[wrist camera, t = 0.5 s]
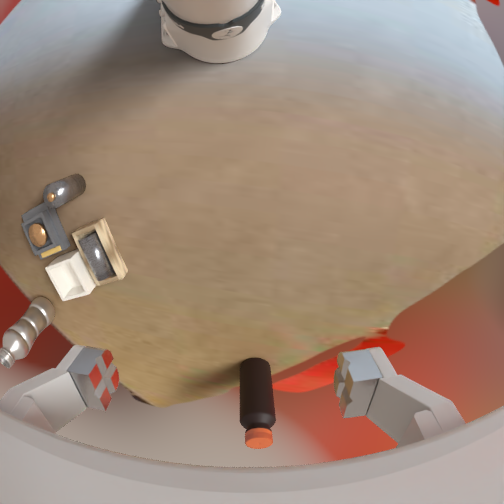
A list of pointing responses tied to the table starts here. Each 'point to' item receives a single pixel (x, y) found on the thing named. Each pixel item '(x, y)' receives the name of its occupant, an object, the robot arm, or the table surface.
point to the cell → (63, 190)
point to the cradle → (53, 227)
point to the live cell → (96, 256)
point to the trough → (109, 248)
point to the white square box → (70, 275)
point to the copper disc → (38, 234)
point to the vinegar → (256, 402)
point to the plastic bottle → (26, 331)
